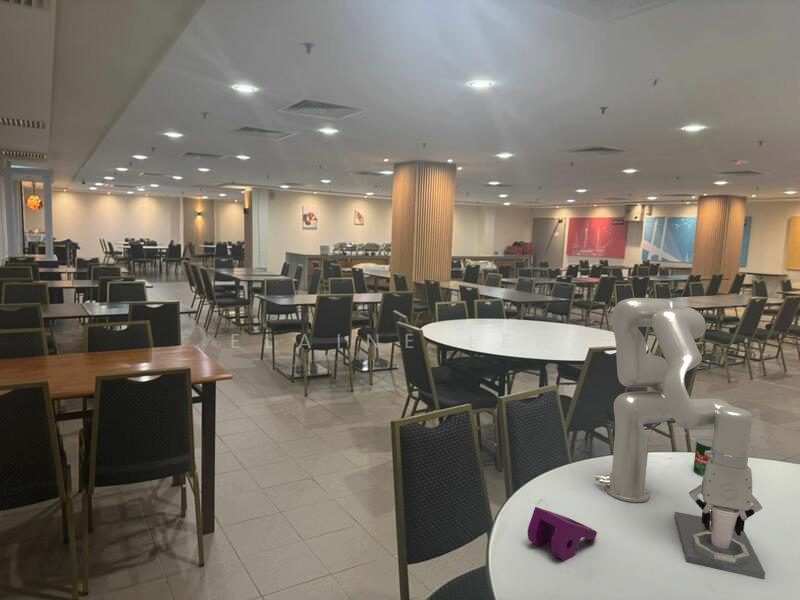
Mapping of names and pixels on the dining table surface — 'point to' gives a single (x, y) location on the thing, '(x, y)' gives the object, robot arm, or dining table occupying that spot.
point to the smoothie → (722, 525)
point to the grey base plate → (716, 548)
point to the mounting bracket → (557, 532)
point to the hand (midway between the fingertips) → (721, 529)
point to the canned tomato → (701, 455)
